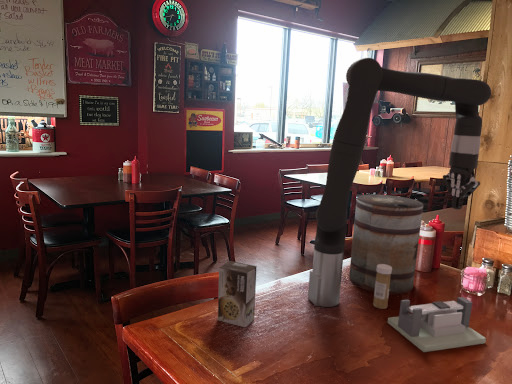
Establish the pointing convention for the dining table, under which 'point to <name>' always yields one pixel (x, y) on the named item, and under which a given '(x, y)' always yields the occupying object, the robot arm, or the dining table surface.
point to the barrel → (385, 241)
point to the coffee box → (236, 293)
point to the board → (437, 327)
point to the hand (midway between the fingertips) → (456, 208)
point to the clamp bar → (436, 307)
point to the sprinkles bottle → (382, 286)
